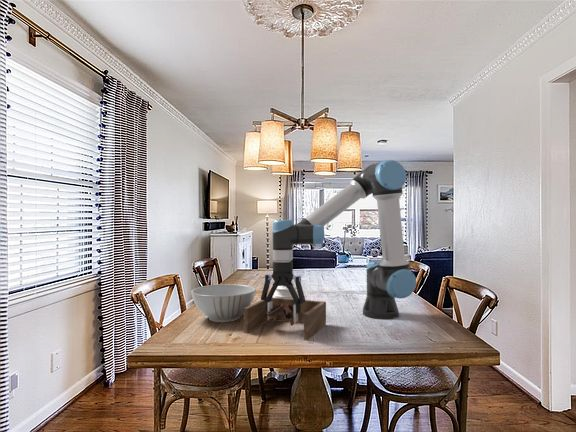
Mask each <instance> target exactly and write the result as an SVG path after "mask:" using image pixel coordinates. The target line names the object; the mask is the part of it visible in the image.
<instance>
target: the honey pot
mask: <svg viewBox="0 0 576 432" xmlns="http://www.w3.org/2000/svg"><path fill="white" fill-rule="evenodd" d="M291 282H292V284H293V287H294V289H295V291H296V293H297V295H298V292H297V288H296V285H295V284H294V281H293V280H292V281H291ZM272 297H274V298H287V299H293V298H292V296H291V294H290V292H289V290H288V288H287V287H286V286H278V287H277V289H276V291H275V293H274V295H273V296H272Z"/></svg>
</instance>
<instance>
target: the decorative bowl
mask: <svg viewBox="0 0 576 432" xmlns="http://www.w3.org/2000/svg"><path fill="white" fill-rule="evenodd" d="M256 292H257V289H256V287H254V286H251V285H245V284H240V283H239V284H238V283H237V284H236V283H231V284H230V283H225V284H224V283H223V284H221V283H220V284H210V285H204V286H203V285H202V286H198V287H195V288H193V289H191V291H190V293H191V297H192V300H193V302H194V304H195V306H196V307H197V309H198V310H199V311H200V312H201V313H202V314H204V316H206V317H208V319H209V321H211V322H215V323H230V322H234V321H238V319H240V316H241V315H243V314H244V308H245V307H247V306H250V305H252V304H253V301H254V299H255V296H256Z"/></svg>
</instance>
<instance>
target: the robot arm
mask: <svg viewBox="0 0 576 432" xmlns="http://www.w3.org/2000/svg"><path fill="white" fill-rule="evenodd" d="M406 182H407V172H406V169H405V167H404V166H403V165H402V164H401V163H400V162H399V161H396V160H392V159H389V160H382V161H380V162H376V163H373V164H370V165H368V166H367V167H366V168H364V169H363V170H362V171H361V172H359V173H358V174H357V175H356V176H354V178H353V179H350V181H349V184H348V185H347V186H346V187H344V188H343V189H341V190H340V191H339V192H337V193H336V194H335V195H334V196H332V197H331V198H330V199H328V200H327V201H326V202H324V203H323V204H322V205H320V206H319V207H318V208H316V209H315V210H314V211H312V212H311V213H310V214H308V215H307V216H306V217H305V218H303V219H302V220H301V221H299V222H297V223H294V222H293V219H276V220H274V221H273V222H272V274H269V273H267V274H265V275H264V285H263V288H262V292H261V296H260V301H261V300H264V301H265V302H266V310H268V311H270V312H271V309H272V301H270V300H271V298H272V297H273V296H274V293H275V291H276V289H277V287H278V286H286V287H287V288H288V290H289V292H290V294H291V296H292V298H293V300H294V302H295V304H294V324H296V322H298V313H300V305H301V304H302V303H304V302H305V300H306V298H305V294H304V290H303V286H302V277H301V276H300V275H295V274H294V273H293V271H294V269H293V267H294V264H293V263H294V262H293V259H294V254H293V253H294V251H293V250H294V245H295V246H297V245H299V246H300V245H302V246H307V245H308V246H309V245H311V246H312V245H313V246H316V245H322V244H323V243H324V242H325V241H324V240H325V230H324V229H325V228H324V227H325V226H327V224H329V223H330V222H332V221H333V220H334V219H335V218H337V217H338V216H340V215H341V214H342V213H344V212H345V211H346V210H347V209H349V208H350V207H351V206H352V205H354V204H355V203H357V202H358V201H359V200H360V199H363V200H364V199H365V198H367V197H368V196H370V195H372V198H374V199H375V200H376V202H377V204H376V205H377V206H376V207H377V213H378V214H377V215H378V227H379V235H380V236H379V237H380V243H381V253H382V254H381V255H382V260H381V261H369V262H367V264H366V268H365V269H366V271H365V272H366V298H365V301H364V303H363V307H362V315H363V316H365V317H367V318H370V319H371V318H372V319H380V320H381V319H382V320H390V319H396V318H398V317H399V312H400V311H399V307H398V305H397V301H396V298H397V299H405V298H408V297H409V296H411V295H412V293H413V292H414V291H415V290H416V287H417V277H416V276H415V273H414V272H412V270H411V266H410V261H409V260H407V259H406V256H405V248H404V247H405V246H404V238H403V237H404V236H403V226H402V216H401V213H402V212H401V205H400V198H401V196H403V187H404V185H405V183H406ZM272 280H273V284H272V286H271V288H270V285H271V282H272ZM291 281H292V282H294V283H295V284H294V283H293V284H294V285H295V286H296V288H297V289H296V291H295V289H294V287H293V284H292V282H291ZM269 289H270V290H269ZM296 292H297V293H296ZM297 294H298V295H297Z"/></svg>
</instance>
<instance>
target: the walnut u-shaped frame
mask: <svg viewBox="0 0 576 432" xmlns="http://www.w3.org/2000/svg"><path fill="white" fill-rule="evenodd" d="M270 301H272V308H273V307H275V306H276V305H278V304H281V303H283V304H284V306H285V305H287V304H290V305H291V306H292V307H293V313H292V314H293V317H294V304H295V302H294V300H293V299H287V298H274V297H273V296H272V298H271V300H270ZM267 312H268V310H266V302H265V301H264V300H261V299H260V300H259V301H256V302H254V303H251V305H250V306H247V307H245V308H244V313H243V333H244V334H245V333H246V334H248V333H250V332H251V331H254V330H255V329H257V328H259V327H260V326H263V324H265V323H267V322H269V321H270V320H268V315H267ZM283 313H284V312H283ZM326 313H327V302H326V301H322V300H320V301H319V300H310V299H309V300H307V299H305V302H304V303H302V304H301V305H300V313H298V322H297V323H298V324H303V341H309V340H311V338H313V337H314V336H315V335H316V334H317V333H318V332H319V331H321V330H322V329H323V328H324V327H325V326H326V324H327V314H326ZM290 319H291V318H290ZM290 319H288V318H286V316H285V314H284V315H278V314H277V315H276V319H273V321H279V322H288V323H290V322H289V320H290Z"/></svg>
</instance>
